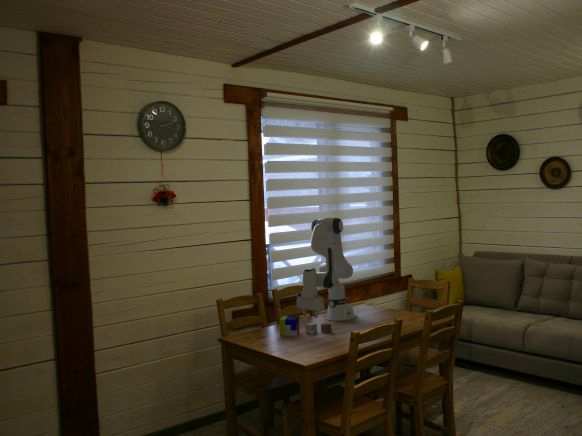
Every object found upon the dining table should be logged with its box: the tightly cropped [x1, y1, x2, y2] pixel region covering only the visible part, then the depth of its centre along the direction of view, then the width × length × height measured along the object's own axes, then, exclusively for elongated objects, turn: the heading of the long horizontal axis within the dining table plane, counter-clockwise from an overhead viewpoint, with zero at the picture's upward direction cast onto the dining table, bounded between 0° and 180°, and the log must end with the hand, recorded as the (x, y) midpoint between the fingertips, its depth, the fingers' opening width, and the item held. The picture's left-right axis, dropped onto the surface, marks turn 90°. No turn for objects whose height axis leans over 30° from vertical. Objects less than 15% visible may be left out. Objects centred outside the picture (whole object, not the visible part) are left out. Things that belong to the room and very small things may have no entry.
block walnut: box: [320, 322, 333, 334], centre depth 321 cm, size 4×4×5 cm
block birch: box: [305, 322, 318, 335], centre depth 320 cm, size 5×5×6 cm
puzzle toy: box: [279, 315, 300, 337], centre depth 319 cm, size 10×10×10 cm
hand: (310, 316), depth 319 cm, fingers open, 8 cm apart
